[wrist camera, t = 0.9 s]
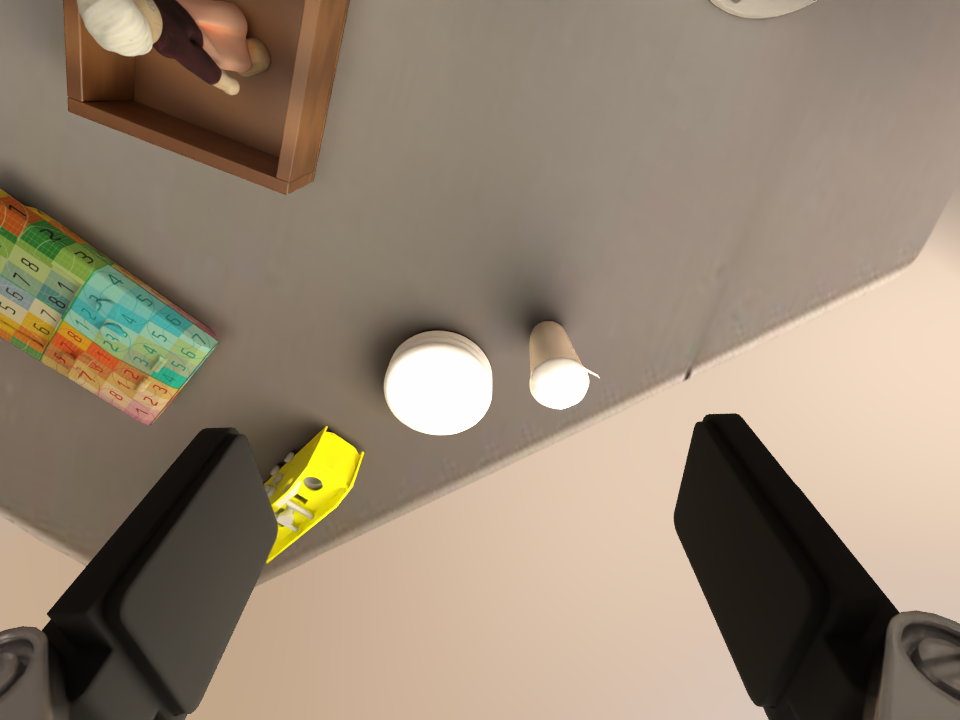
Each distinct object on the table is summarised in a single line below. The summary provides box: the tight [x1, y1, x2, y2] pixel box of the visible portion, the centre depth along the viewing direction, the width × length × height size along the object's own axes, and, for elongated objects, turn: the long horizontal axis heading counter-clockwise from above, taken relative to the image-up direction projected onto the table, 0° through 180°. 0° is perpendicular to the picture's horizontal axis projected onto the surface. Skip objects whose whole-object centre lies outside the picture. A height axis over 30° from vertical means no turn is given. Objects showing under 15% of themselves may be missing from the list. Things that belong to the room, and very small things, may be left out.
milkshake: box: [530, 321, 600, 409], centre depth 39 cm, size 4×5×10 cm
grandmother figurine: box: [77, 0, 271, 95], centre depth 26 cm, size 8×4×13 cm, turn 49°
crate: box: [63, 0, 350, 195], centre depth 30 cm, size 15×14×6 cm
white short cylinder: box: [384, 331, 492, 435], centre depth 44 cm, size 10×10×4 cm
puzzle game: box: [0, 189, 219, 425], centre depth 40 cm, size 12×5×20 cm
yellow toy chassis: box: [264, 426, 364, 563], centre depth 49 cm, size 16×6×8 cm, turn 135°
